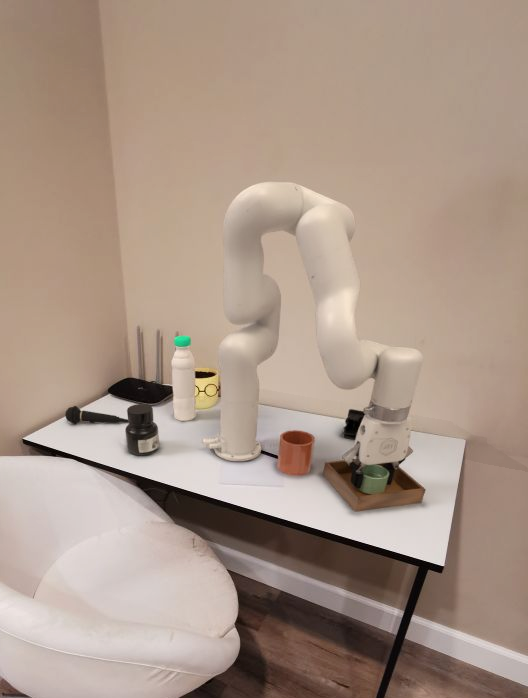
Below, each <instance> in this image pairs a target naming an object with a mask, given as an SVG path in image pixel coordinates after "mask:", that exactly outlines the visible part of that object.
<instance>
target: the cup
mask: <svg viewBox="0 0 528 698" xmlns="http://www.w3.org/2000/svg"><path fill="white" fill-rule="evenodd" d="M315 442H316V438H315V436H314V435H313V434H311V433H309V432H308V431H304V430H297V429H295V430H287V431H283V432H282V433H281V434H280V435H279V442H278V444H279V445H278V453H277V464H276V467H277V469H278V471H279V472H281V473H283V474H285V475H288V476H295V477H300V476H304V475H307V474H309V472H310V471H311V468H312V462H313V457H314V456H313V455H314V448H315Z"/></svg>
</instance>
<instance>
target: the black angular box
mask: <svg viewBox="0 0 528 698" xmlns="http://www.w3.org/2000/svg"><path fill="white" fill-rule="evenodd" d="M364 415H366V414H364V412H363V410H359V409H354V408H350V409H349V410H348V413H347V416H346V418H345V421H344V422H345V426H344V427H343V433H344V434H343V437H342V438H344V439H349V440H353V441H355V439H356V436H357V432H358V429H359V427H360V424H361V422H362V420H363V418H364Z"/></svg>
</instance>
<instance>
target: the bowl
mask: <svg viewBox="0 0 528 698" xmlns="http://www.w3.org/2000/svg"><path fill="white" fill-rule="evenodd" d="M362 473H363V474H364V476H363V481H362V485H361V488H360V489H358V490H359V491H361V492H363V493H366V494H370V495H373V494H381V493H383V492H384V491H385V489H386V485H387V482H388V478H389V471H388V470H387V469H386V468H384V467H382V466H379V465H376V464H374V465H366V467H365V468H364V470H363V471H362Z"/></svg>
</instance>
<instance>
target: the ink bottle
mask: <svg viewBox="0 0 528 698" xmlns="http://www.w3.org/2000/svg"><path fill="white" fill-rule="evenodd" d="M126 413H127V414H126V415H127V420H128V422H127V423H128V424H127V425H126V427H125V440H126V441H125V442H126V449H127V452H129V453H130V454H132V455H134V456H149V455H152V454H154V453H156V452H157V451H158V450H159V448H160V437H159V426H158V424H157V423H156V422H154V408H153V406H152V405H150V404H147V403H137V404H132V405H130V406H129V407H127V409H126Z"/></svg>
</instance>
